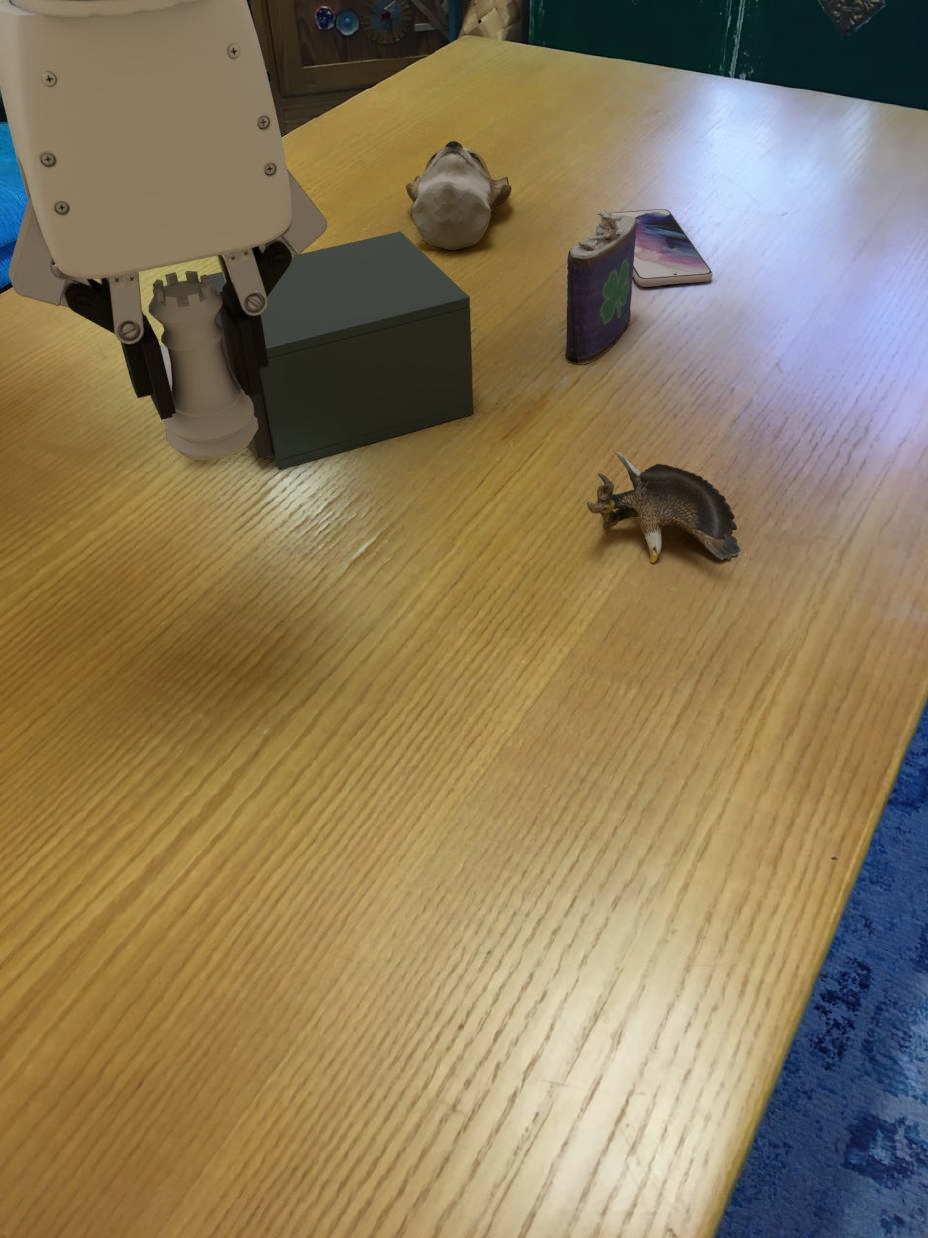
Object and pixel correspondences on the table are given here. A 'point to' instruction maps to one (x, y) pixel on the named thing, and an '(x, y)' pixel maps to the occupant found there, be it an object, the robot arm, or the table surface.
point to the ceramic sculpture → (455, 197)
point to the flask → (600, 288)
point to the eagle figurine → (670, 507)
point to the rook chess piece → (200, 372)
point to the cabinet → (362, 348)
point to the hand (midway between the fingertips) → (204, 389)
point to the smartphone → (664, 251)
